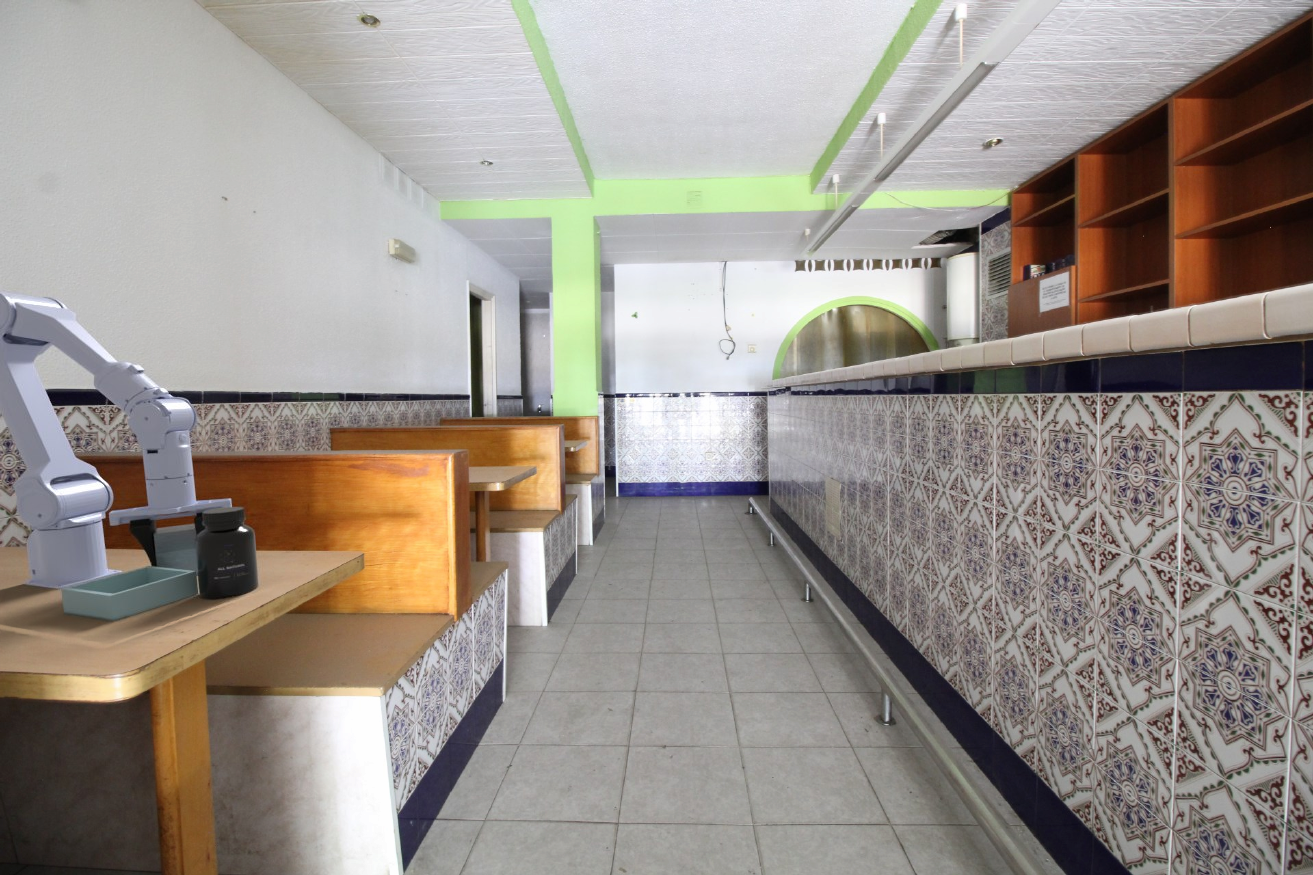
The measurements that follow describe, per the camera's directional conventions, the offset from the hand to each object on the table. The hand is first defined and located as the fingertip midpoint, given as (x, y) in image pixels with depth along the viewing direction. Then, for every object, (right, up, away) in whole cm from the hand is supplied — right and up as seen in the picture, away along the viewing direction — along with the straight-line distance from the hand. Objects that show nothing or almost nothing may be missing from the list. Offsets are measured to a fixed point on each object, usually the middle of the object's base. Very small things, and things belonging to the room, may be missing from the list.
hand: (179, 563), depth 92 cm
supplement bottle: (+14, -3, -8) cm, 17 cm away
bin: (+4, -3, -12) cm, 13 cm away
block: (0, -2, 0) cm, 2 cm away
